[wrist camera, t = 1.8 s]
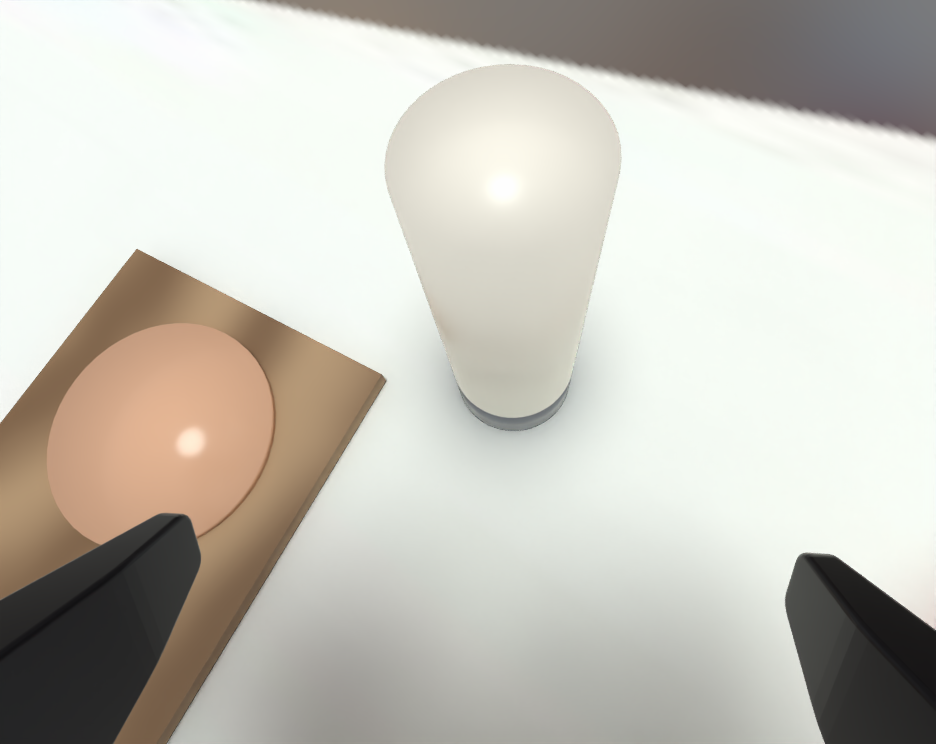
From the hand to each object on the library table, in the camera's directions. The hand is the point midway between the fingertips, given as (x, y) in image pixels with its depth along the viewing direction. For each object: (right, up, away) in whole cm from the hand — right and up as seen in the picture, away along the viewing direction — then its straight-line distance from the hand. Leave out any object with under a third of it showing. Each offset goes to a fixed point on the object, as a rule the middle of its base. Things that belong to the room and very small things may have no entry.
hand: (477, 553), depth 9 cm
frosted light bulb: (+2, +3, +14) cm, 15 cm away
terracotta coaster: (-12, 0, +14) cm, 19 cm away
